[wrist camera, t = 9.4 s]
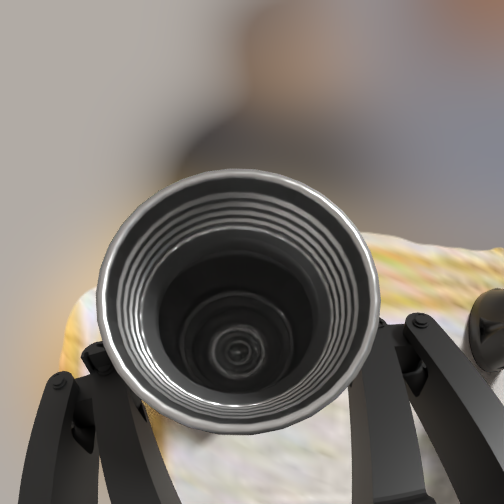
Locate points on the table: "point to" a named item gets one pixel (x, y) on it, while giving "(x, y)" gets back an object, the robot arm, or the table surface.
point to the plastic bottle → (238, 301)
